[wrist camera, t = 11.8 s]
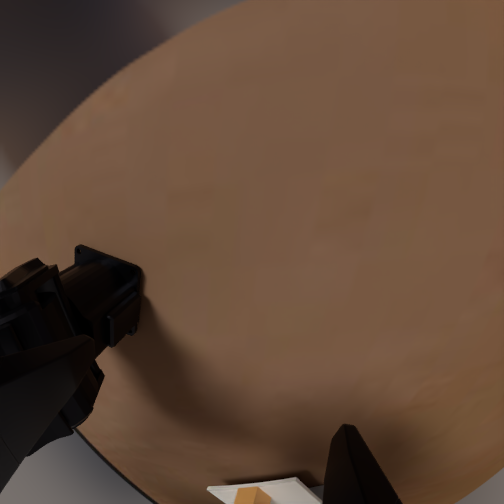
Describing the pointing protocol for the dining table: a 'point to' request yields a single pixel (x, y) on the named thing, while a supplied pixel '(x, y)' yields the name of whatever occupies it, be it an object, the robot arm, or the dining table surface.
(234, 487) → the lid
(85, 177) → the dining table surface
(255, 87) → the dining table surface
